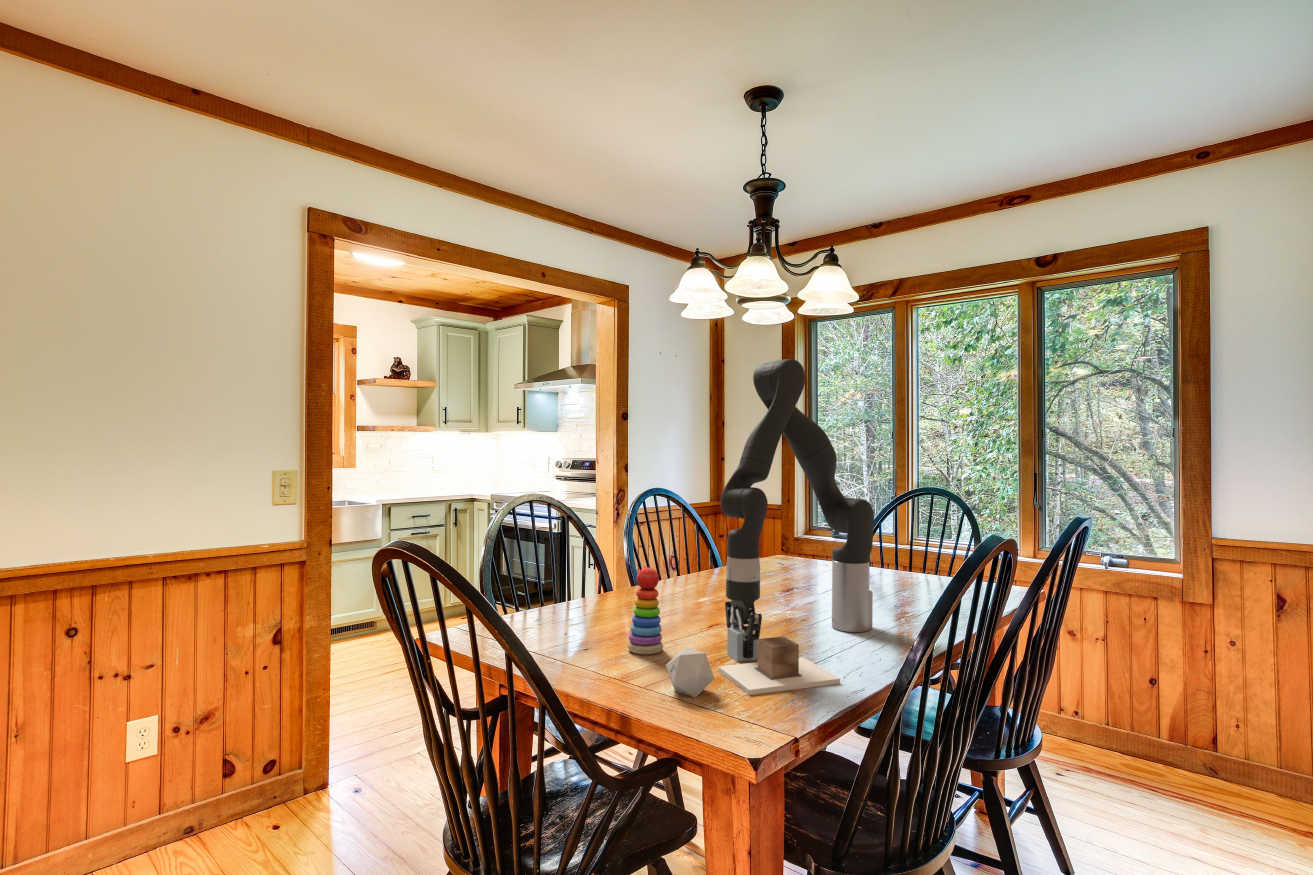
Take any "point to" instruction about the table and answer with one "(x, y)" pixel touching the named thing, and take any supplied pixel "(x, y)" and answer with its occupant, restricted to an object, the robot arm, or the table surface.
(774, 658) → the walnut block
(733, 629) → the slate block
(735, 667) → the cream board
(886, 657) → the table surface
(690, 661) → the die
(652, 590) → the stacking toy
